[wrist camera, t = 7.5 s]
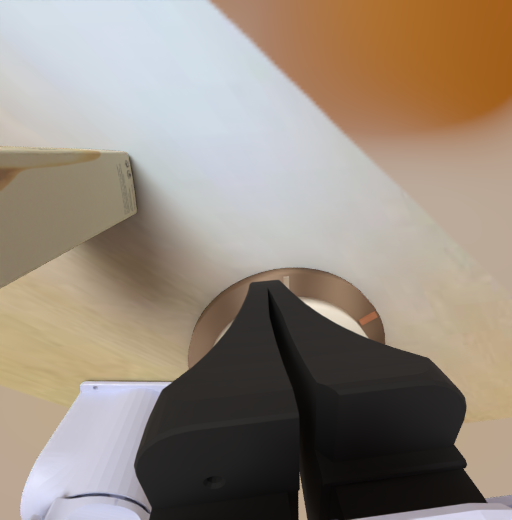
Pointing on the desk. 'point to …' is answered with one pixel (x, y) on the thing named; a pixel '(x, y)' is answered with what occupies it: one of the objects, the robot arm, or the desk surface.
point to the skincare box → (57, 202)
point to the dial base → (301, 285)
